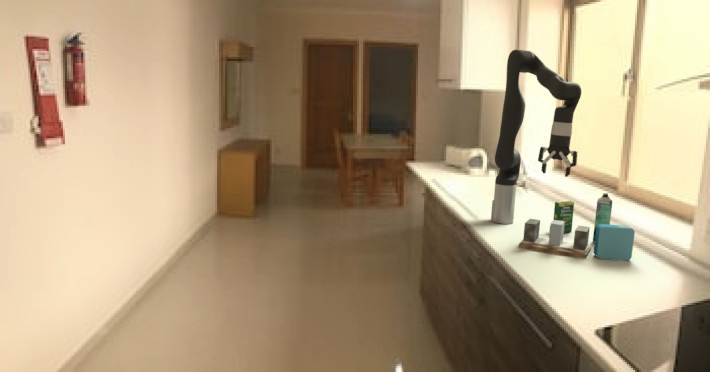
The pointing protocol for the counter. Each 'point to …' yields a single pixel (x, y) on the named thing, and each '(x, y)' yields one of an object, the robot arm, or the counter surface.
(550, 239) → the block
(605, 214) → the spray can
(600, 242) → the blue rounded block
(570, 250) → the wooden block stand
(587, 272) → the counter surface
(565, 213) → the coffee box
